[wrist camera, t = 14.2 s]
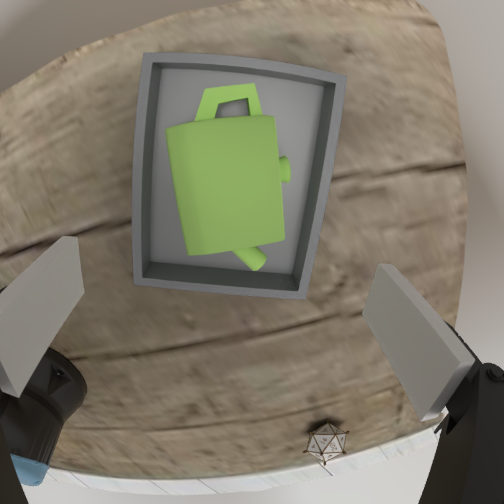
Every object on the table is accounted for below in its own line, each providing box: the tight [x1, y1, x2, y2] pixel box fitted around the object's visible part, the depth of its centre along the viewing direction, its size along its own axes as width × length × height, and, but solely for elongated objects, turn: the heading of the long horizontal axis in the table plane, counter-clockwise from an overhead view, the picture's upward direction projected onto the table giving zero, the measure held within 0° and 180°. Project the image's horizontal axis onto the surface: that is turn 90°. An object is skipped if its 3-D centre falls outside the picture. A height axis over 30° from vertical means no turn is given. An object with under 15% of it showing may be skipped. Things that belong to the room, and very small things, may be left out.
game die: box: [303, 419, 350, 466], centre depth 50 cm, size 9×8×10 cm
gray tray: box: [132, 52, 347, 300], centre depth 31 cm, size 19×24×5 cm
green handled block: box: [165, 83, 291, 271], centre depth 28 cm, size 18×10×10 cm, turn 6°
